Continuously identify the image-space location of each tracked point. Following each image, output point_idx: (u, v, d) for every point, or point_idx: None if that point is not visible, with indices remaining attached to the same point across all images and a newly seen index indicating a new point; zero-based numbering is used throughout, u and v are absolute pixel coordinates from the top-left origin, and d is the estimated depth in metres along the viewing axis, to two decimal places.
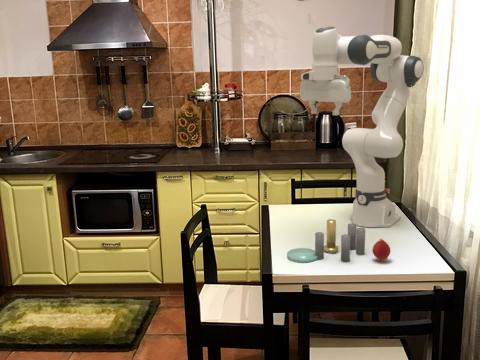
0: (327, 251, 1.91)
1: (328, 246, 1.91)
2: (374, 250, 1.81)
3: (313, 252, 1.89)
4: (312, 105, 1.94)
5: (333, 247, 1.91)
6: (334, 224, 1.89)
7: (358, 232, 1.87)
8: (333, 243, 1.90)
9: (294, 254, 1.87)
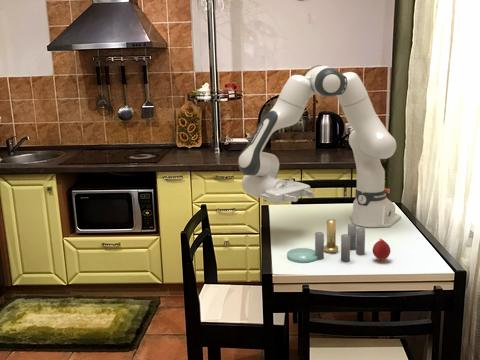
0: (327, 251, 1.91)
1: (328, 246, 1.91)
2: (374, 250, 1.81)
3: (313, 252, 1.89)
4: (307, 193, 2.02)
5: (333, 247, 1.91)
6: (334, 224, 1.89)
7: (358, 232, 1.87)
8: (333, 243, 1.90)
9: (294, 254, 1.87)
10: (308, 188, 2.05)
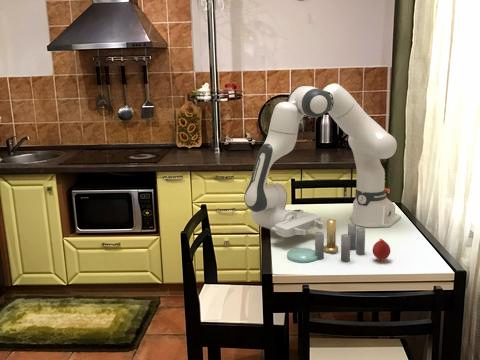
0: (327, 251, 1.91)
1: (328, 246, 1.91)
2: (374, 250, 1.81)
3: (313, 252, 1.89)
4: (317, 224, 2.02)
5: (333, 247, 1.91)
6: (334, 224, 1.89)
7: (358, 232, 1.87)
8: (333, 243, 1.90)
9: (294, 254, 1.87)
10: (318, 219, 2.05)
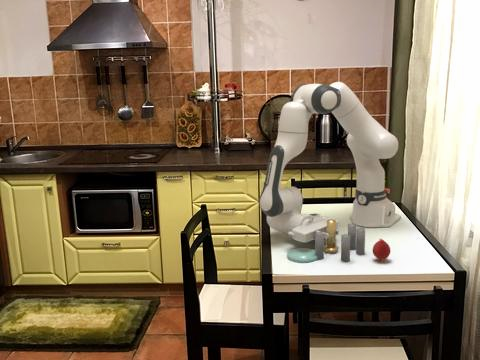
0: (327, 251, 1.91)
1: (328, 246, 1.91)
2: (374, 250, 1.81)
3: (313, 252, 1.89)
4: None
5: (333, 247, 1.91)
6: (334, 224, 1.89)
7: (358, 232, 1.87)
8: (333, 243, 1.90)
9: (294, 254, 1.87)
10: (336, 223, 1.99)
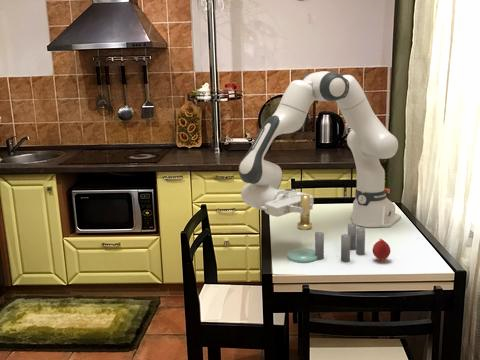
0: (300, 227, 1.84)
1: (302, 222, 1.84)
2: (374, 250, 1.81)
3: (313, 252, 1.89)
4: None
5: (307, 223, 1.84)
6: (308, 199, 1.82)
7: (358, 232, 1.87)
8: (307, 219, 1.84)
9: (294, 254, 1.87)
10: (311, 199, 1.92)
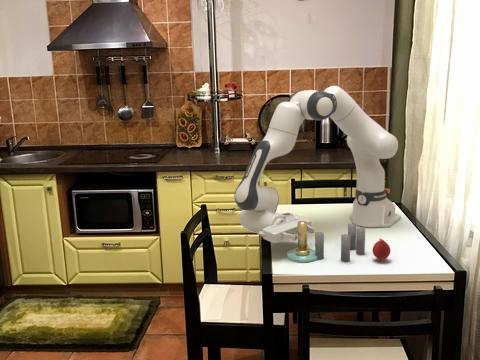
0: (298, 253, 1.86)
1: (299, 248, 1.86)
2: (374, 250, 1.81)
3: (313, 252, 1.89)
4: (307, 229, 1.91)
5: (304, 249, 1.86)
6: (305, 226, 1.84)
7: (358, 232, 1.87)
8: (304, 245, 1.86)
9: (294, 254, 1.87)
10: (308, 223, 1.94)
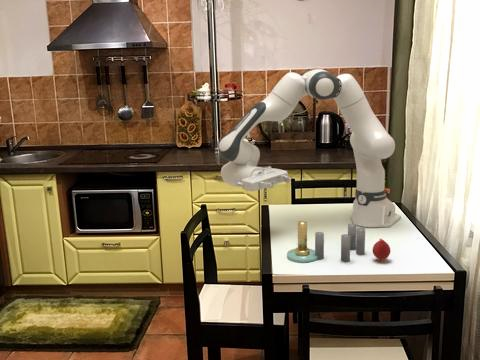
0: (298, 253, 1.86)
1: (299, 248, 1.86)
2: (374, 250, 1.81)
3: (313, 252, 1.89)
4: (284, 179, 2.01)
5: (304, 249, 1.86)
6: (305, 226, 1.84)
7: (358, 232, 1.87)
8: (304, 245, 1.86)
9: (294, 254, 1.87)
10: (285, 174, 2.04)
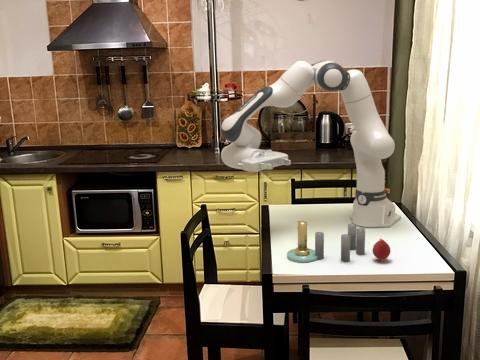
0: (298, 253, 1.86)
1: (299, 248, 1.86)
2: (374, 250, 1.81)
3: (313, 252, 1.89)
4: (284, 162, 2.02)
5: (304, 249, 1.86)
6: (305, 226, 1.84)
7: (358, 232, 1.87)
8: (304, 245, 1.86)
9: (294, 254, 1.87)
10: (286, 157, 2.04)
